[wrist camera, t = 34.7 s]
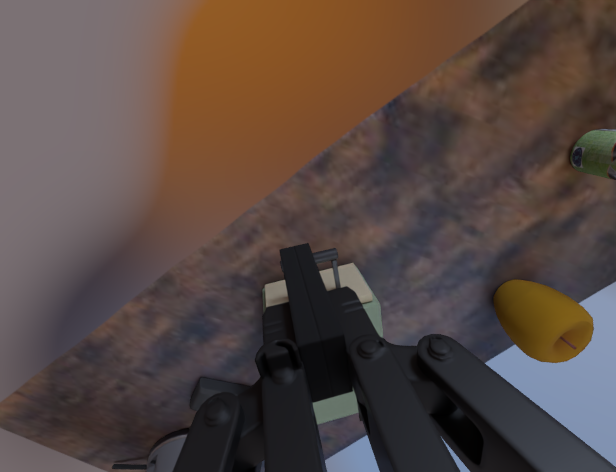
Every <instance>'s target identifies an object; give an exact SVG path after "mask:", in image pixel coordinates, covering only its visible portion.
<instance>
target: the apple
mask: <svg viewBox="0 0 616 472" xmlns="http://www.w3.org/2000/svg"><path fill="white" fill-rule="evenodd" d="M493 302H494V307H495V311H496V315H497V317H498V319H499V321H500V323H501V325H502V327H503V328H504V330H505V332H506V333H507V335H508V336H509V337H510V338H511V340H512V341H513V342H514V343H515V344H516V345H517V346H518V347H519V348H520V349H521V350H522V351H523V352H524V353H525V354H527V355H528V356H529V357H531V358H534V359H536V360H538V361H541V362H551V363H558V362H564V361H568V360H570V359H572V358H573V357H576V356H577V355H578V354H579V353H580V352H581V351H583V350H584V349H585V347H586V346H587V345H588V344H589V342H590V341H591V338H592V334H593V330H594V327H593V318H592V317H591V316H590V315H589V313H588V312H587V311H586V310H585V309H584V308H583V307H582V306H580V305H579V304H578V303H577V302H575V301H574V300H572V299H571V298H570V297H568V296H566V295H564V294H562V293H561V292H559V291H557V290H555V289H552V288H550V287H548V286H546V285H542V284H539V283H535V282H531V281H525V280H517V279H514V280H510V281H507V282H505V283H504V284H502V285H501V286H500V287H499V288H498V290H497V291H496V293H495V295H494V298H493Z"/></svg>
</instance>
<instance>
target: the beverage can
mask: <svg viewBox="0 0 616 472" xmlns="http://www.w3.org/2000/svg"><path fill="white" fill-rule="evenodd" d="M570 161H571V164H572V166H573V167H574V169H576V170H578V171H580V172H584V173H588V174H593V175H597V176H601V177H605V178H610V179H614V180H616V130H609V129H596V130H593V131H590V132H588V133H586V134H585V135H583V136H582V137H581V138H580V139H579V140H578V141H577V142H576V144H575V145H574V147H573V149H572V152H571V156H570Z"/></svg>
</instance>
